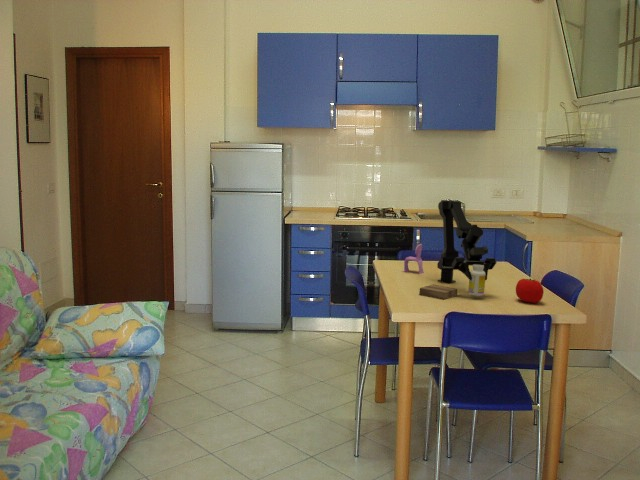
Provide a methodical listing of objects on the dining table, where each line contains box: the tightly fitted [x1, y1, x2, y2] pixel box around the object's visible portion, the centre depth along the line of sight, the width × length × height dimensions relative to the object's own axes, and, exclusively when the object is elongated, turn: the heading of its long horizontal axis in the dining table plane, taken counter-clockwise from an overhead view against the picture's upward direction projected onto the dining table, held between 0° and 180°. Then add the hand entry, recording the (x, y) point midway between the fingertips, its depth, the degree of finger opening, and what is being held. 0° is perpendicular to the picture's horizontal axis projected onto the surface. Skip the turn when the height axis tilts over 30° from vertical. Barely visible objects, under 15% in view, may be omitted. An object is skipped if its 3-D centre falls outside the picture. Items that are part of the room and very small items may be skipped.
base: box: [418, 284, 459, 301], centre depth 310 cm, size 12×12×3 cm
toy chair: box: [403, 243, 424, 275], centre depth 360 cm, size 8×9×15 cm
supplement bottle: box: [468, 264, 486, 297], centre depth 307 cm, size 7×7×13 cm
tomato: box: [515, 278, 544, 304], centre depth 306 cm, size 11×13×10 cm
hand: (478, 279), depth 306 cm, fingers closed on supplement bottle, 7 cm apart
